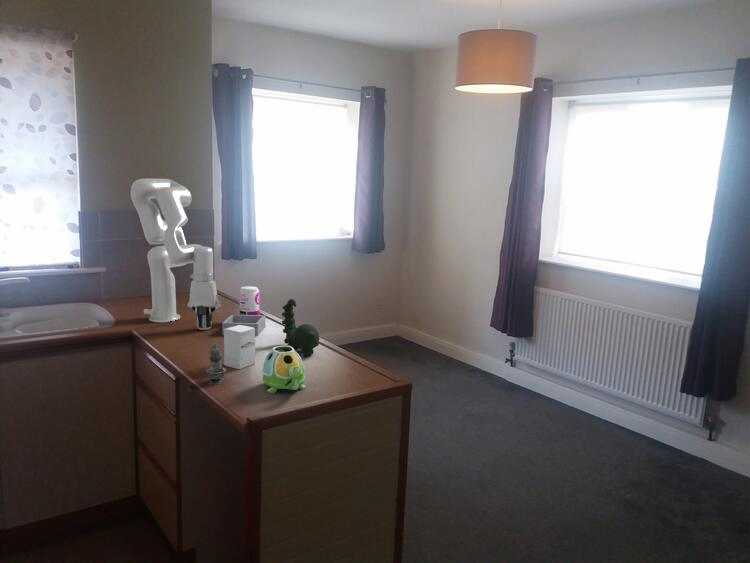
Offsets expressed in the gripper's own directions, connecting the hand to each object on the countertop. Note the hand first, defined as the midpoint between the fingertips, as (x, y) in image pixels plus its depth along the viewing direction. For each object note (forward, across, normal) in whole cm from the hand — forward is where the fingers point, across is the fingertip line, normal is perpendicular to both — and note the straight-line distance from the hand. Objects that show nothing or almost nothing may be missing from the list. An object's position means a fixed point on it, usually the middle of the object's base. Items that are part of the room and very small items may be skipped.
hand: (204, 322), depth 235 cm
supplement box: (+3, +26, -42) cm, 49 cm away
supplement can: (+3, +15, +14) cm, 21 cm away
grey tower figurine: (+2, +22, -59) cm, 63 cm away
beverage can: (+3, 0, 0) cm, 3 cm away
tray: (+3, +16, 0) cm, 17 cm away
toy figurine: (+2, +43, -25) cm, 50 cm away
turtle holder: (+2, +44, -62) cm, 77 cm away
